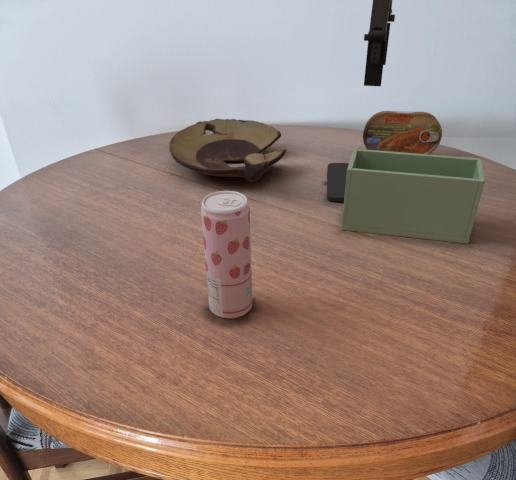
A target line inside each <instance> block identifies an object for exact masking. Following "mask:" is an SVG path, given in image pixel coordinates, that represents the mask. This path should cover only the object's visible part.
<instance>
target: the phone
mask: <svg viewBox="0 0 516 480" xmlns="http://www.w3.org/2000/svg"><path fill="white" fill-rule="evenodd" d="M348 165H349V162H330V163H328V164H327V169H326V199H327V201H330V202H340V203H341V202H343V203H344V197H345V186H346V176H347V168H348Z"/></svg>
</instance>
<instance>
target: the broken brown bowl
mask: <svg viewBox="0 0 516 480" xmlns="http://www.w3.org/2000/svg"><path fill="white" fill-rule="evenodd" d="M206 131H209V132H212V133H206ZM281 137H282V133H281V131H280V130H277V128H276V127H273V126H272V125H268V124H265V123H264V122H260V121H257V120H247V119H246V120H245V119H236V118H226V119H223V118H215V119H210V120H204V121H198V122H196V123H195V124H192V125H189V126H187V127H185V128H183V129H181V130H179V131H178V132H177V133H175V134H174V135H173V136H172V138H171V139H170V141H169V144H168V150H169V153H170V155H171V157H172V158H173V160H174V161H175V162H176V163H177V164H179V165H181V166H182V167H184V168H186V169H188V170H190V171H194V172H197V173H201V174H204V175H208V176H214V177H225V178H239V177H240V178H242V179H244V180H246V181H247V182H250V183H253V182H257V181H259V180H260V179H261V178H262V176H263V175H264V173H265V172H266V171H267V170H268V169H269V168H270V167H272V166H274V165H276V164H277V163H278V162H279V161H281V160H282V159H283V157H284V156H285V155H286V153H287V148H281V149H276V150H275V151H272V152H268V153H266V154H264V152H265V151H266V150H268V149H269V148H270V147H271V146H272V145H274V144H275V143H276V142H277V141H278V140H279V139H281ZM226 162H234V163H235V162H236V163H237V162H238V163H239V162H243V164H244V165H242V166H232V167H231V166H230V165H229V164H227V163H226Z"/></svg>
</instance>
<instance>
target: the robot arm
mask: <svg viewBox="0 0 516 480" xmlns="http://www.w3.org/2000/svg"><path fill="white" fill-rule="evenodd" d="M395 20H396V14H393V0H372V5H371V13H370V22H369V30H368V32H367V33H364V35H363V41H364V42H367V48H366V58H365V68H364V69H365V70H364V80H363V86H364V87H381V86H382V79H383V72H384V66H386V64H387V55H388V47H389V38H390V30H391V23H394V22H395Z"/></svg>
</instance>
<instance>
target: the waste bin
mask: <svg viewBox="0 0 516 480" xmlns="http://www.w3.org/2000/svg"><path fill="white" fill-rule="evenodd" d="M351 153H352V154H351V156H350V160H349V162H348V163H349V165H348V168H347V176H346V186H345V197H344V202H343V208H342V219H341V230H342V231H350V232H359V233H366V234H367V233H368V234H377V235H386V236H395V237H404V238H413V239H422V240H431V241H441V242H449V243H457V244H458V243H459V244H467V245H468V244H469V243H470V239H471V235H472V231H473V227H474V224H475V220H476V216H477V212H478V210H479V209H478V208H479V205H480V202H481V197H482V195H483V191H484V187H485V183H486V180H485V179H486V178H485V173H484V166H483V159H482V158H478V157H477V158H476V157H466V156H465V157H464V156H451V155H440V154H439V155H438V154H429V155H428V154H415V153H403V152H390V151H378V150H367V149H366V148H364V149H363V148H362V149H361V148H353V150H352V152H351Z"/></svg>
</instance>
